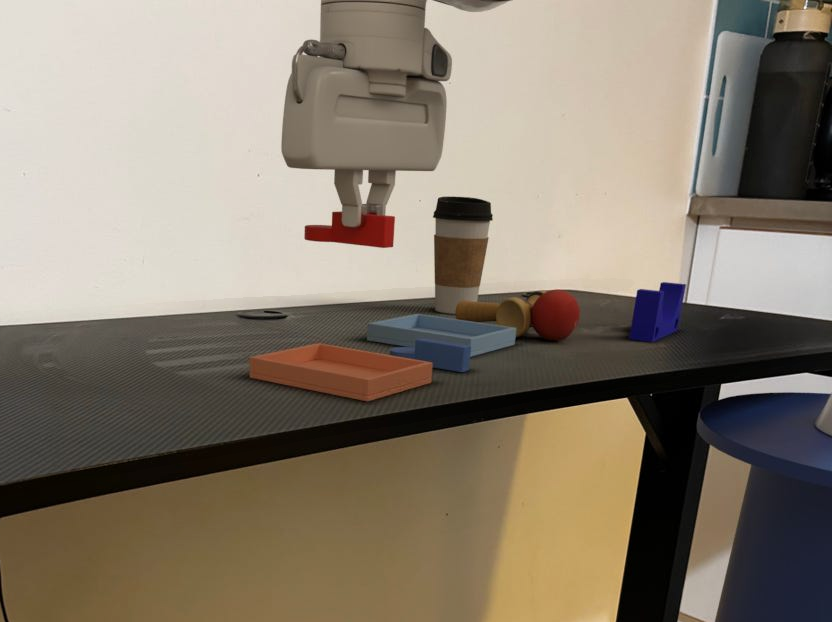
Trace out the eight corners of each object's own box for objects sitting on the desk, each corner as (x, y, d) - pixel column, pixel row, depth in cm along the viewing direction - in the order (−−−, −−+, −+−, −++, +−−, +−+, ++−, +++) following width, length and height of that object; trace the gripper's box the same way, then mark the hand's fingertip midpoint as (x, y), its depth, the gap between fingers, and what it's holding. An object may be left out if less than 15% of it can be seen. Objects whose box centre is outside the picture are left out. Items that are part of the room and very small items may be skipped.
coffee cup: (473, 306, 145) (483, 197, 138) (492, 315, 137) (503, 200, 131) (419, 306, 143) (426, 195, 136) (435, 315, 136) (444, 198, 129)
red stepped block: (399, 246, 89) (401, 216, 88) (377, 248, 86) (379, 217, 85) (320, 237, 94) (320, 208, 92) (296, 239, 91) (297, 209, 90)
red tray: (431, 382, 96) (433, 362, 95) (367, 401, 88) (368, 379, 87) (318, 362, 103) (318, 342, 102) (249, 377, 95) (249, 357, 94)
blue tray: (514, 344, 117) (516, 327, 116) (469, 357, 109) (471, 339, 108) (416, 329, 124) (417, 313, 123) (366, 340, 116) (367, 323, 115)
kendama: (439, 336, 128) (554, 337, 115) (444, 286, 126) (560, 281, 114) (476, 342, 133) (588, 343, 121) (480, 293, 131) (595, 290, 119)
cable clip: (645, 326, 134) (652, 280, 131) (677, 330, 132) (686, 284, 129) (617, 337, 125) (625, 288, 122) (652, 342, 123) (660, 292, 120)
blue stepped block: (473, 369, 103) (476, 344, 102) (457, 374, 100) (459, 348, 99) (401, 356, 108) (402, 332, 106) (383, 361, 105) (384, 336, 104)
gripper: (327, 35, 73) (322, 233, 79) (462, 60, 88) (449, 225, 94) (263, 37, 76) (263, 227, 82) (404, 60, 91) (395, 220, 97)
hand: (363, 226), depth 88 cm, fingers closed on red stepped block
